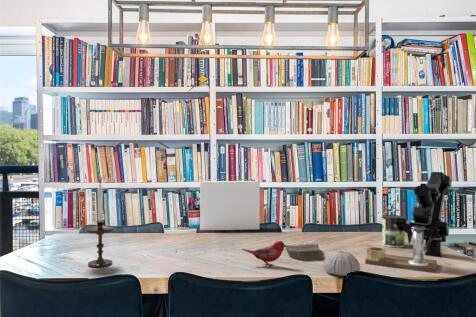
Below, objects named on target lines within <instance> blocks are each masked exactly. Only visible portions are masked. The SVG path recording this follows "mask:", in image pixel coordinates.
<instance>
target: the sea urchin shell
mask: <svg viewBox="0 0 476 317" xmlns="http://www.w3.org/2000/svg"><path fill="white" fill-rule="evenodd" d="M322 264H323V269H324V271H325V272H327V273H328V274H331V275H335V276H343V277H345V276H347V275H346V274H347V273H350V272H354V271H359V272H360V270H361V265H360V262H359V260H358V259H357V258H356V257H355V255H353V254H352V253H351V252H348V251H344V250H336V251H332V252H331V253H330V254H328V255H327V256H326V257H325V259H324V260H323V263H322Z"/></svg>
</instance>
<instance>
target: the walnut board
mask: <svg viewBox="0 0 476 317" xmlns="http://www.w3.org/2000/svg"><path fill="white" fill-rule="evenodd" d="M409 260H413V257H409V256H404V255H403V256H401V255H393V254H386V253H385V260H384V261H372V260H369V259H367V258H366V259H365V260H364V261H365V262H364V264H367V265H374V266H379V267H380V266H381V267H388V268H389V267H390V268H397V269H404V270H410V271H411V270H412V271H418V272H427V273H436V270H437V266H438V265H437V264H438V263H437V262H438V261H437V260H435V259H427V258H424V259H423V261H425V262H427V263H428V266H414V265H410V264H409V263H408V261H409Z"/></svg>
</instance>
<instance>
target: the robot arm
mask: <svg viewBox="0 0 476 317" xmlns="http://www.w3.org/2000/svg"><path fill="white" fill-rule="evenodd" d="M451 187H452V179H451V177H450V176H449V175H446V174H445V172H442V171H432V172H430V176H429V178H428V181H427V182H426V183H423V182H422V183H420V185H417V186H416V187H414V188H413V193H414V197H415V200H416V203H417V206H413V207H412V212H411V215H412V220H413V221H410V220H408V218H407V217H405V218H399V217H398V218H396V220H395V223H396V226H397V229H398V230H399V231H404V234H405V233H406V235H407V241H408V244H411V242H412V240H413V229H411V226H424V227H426V230H424V241H425V242H424V245H425V247H426V250H425V252H424V256H425V255H427V256H434V257H442V256H443V252H442V243H445V242H447V237H448V236H449V233H450V229H449V224H448V223H447V221H441V218H442V212H443V207H444V206H443V205H444V201H445V200H444V199H445V196H446V195H447V194H448V193H450V189H451Z"/></svg>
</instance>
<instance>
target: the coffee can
mask: <svg viewBox="0 0 476 317" xmlns="http://www.w3.org/2000/svg"><path fill="white" fill-rule="evenodd" d="M398 217H399V218H406V217H405V216H404V215H398V214H397V215H396V214H383V215H382V216H381V219H382V220H381V222H382V223H381V225H382V226H381V227H382V228H381V230H382V232H381V245H382V246H384V247H388V248H397V249H398V248H400V249H401V248H403V247H404V248H405V231H399V230H398V229H397V226H396V223H395V220H396V218H398Z"/></svg>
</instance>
